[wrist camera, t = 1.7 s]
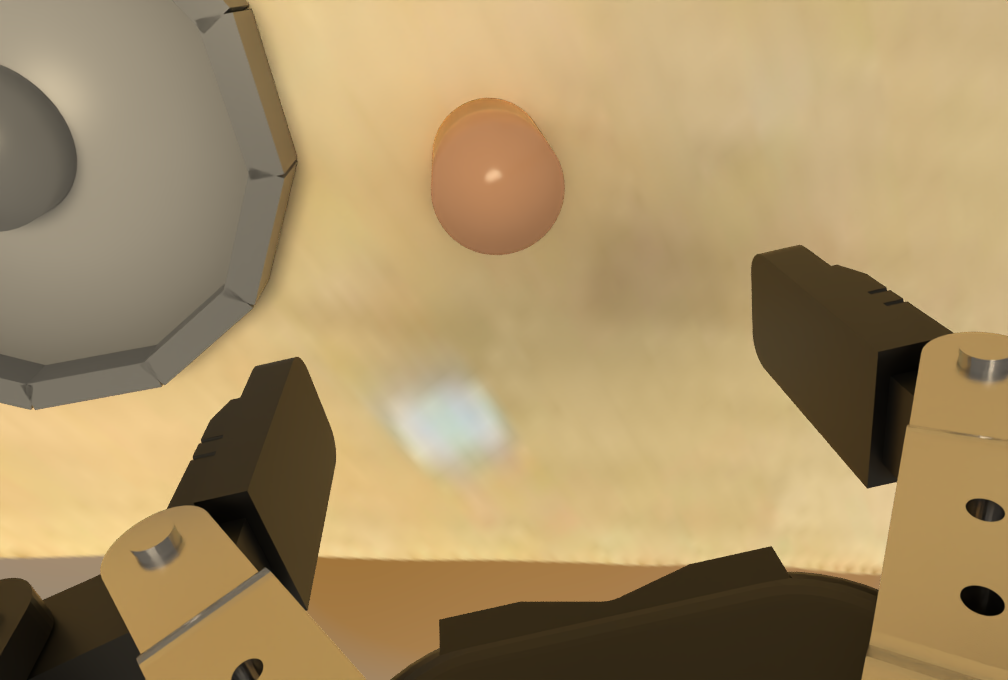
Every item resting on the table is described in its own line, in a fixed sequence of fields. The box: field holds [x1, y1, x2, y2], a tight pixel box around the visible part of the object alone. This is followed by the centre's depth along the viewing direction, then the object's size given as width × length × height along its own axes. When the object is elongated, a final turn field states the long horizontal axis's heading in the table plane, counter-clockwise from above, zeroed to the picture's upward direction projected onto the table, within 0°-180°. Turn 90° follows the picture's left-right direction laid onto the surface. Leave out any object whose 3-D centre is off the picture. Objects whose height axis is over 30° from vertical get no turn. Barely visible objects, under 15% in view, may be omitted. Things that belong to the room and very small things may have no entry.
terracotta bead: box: [431, 98, 565, 255], centre depth 25 cm, size 4×4×5 cm
